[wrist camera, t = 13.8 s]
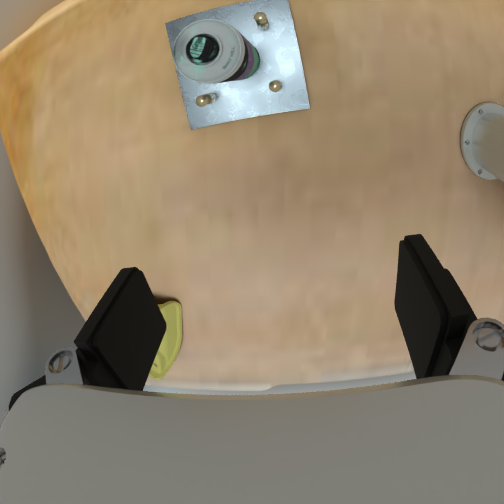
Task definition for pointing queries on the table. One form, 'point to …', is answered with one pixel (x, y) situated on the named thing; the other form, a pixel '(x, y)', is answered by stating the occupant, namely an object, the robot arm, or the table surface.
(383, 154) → the table surface
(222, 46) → the spray can
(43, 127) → the table surface
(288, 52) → the post plate
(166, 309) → the plastic component
